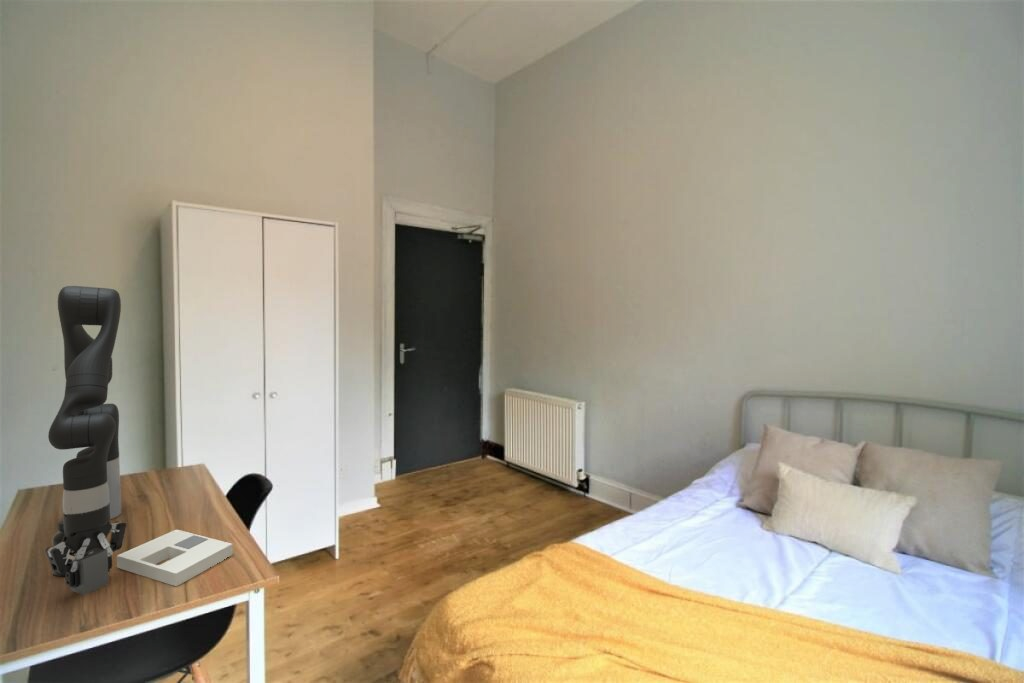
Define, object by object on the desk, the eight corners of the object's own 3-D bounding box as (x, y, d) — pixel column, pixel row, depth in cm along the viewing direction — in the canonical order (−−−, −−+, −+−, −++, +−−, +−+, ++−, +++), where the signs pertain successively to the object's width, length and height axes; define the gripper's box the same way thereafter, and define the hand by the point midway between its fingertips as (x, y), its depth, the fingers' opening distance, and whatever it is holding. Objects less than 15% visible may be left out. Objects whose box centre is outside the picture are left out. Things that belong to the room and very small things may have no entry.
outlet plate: (117, 567, 109) (116, 554, 109) (176, 540, 123) (176, 528, 122) (176, 586, 103) (176, 572, 103) (232, 555, 116) (232, 543, 116)
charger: (71, 590, 100) (69, 554, 100) (95, 579, 105) (94, 544, 104) (84, 595, 99) (83, 558, 98) (108, 583, 103) (107, 548, 103)
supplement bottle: (58, 580, 104) (56, 529, 103) (48, 571, 107) (46, 521, 107) (97, 566, 110) (95, 518, 109) (87, 557, 113) (85, 510, 112)
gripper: (113, 490, 108) (115, 559, 110) (33, 515, 95) (37, 594, 96) (134, 495, 106) (136, 565, 107) (56, 522, 93) (59, 602, 94)
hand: (89, 578), depth 102 cm, fingers open, 5 cm apart
